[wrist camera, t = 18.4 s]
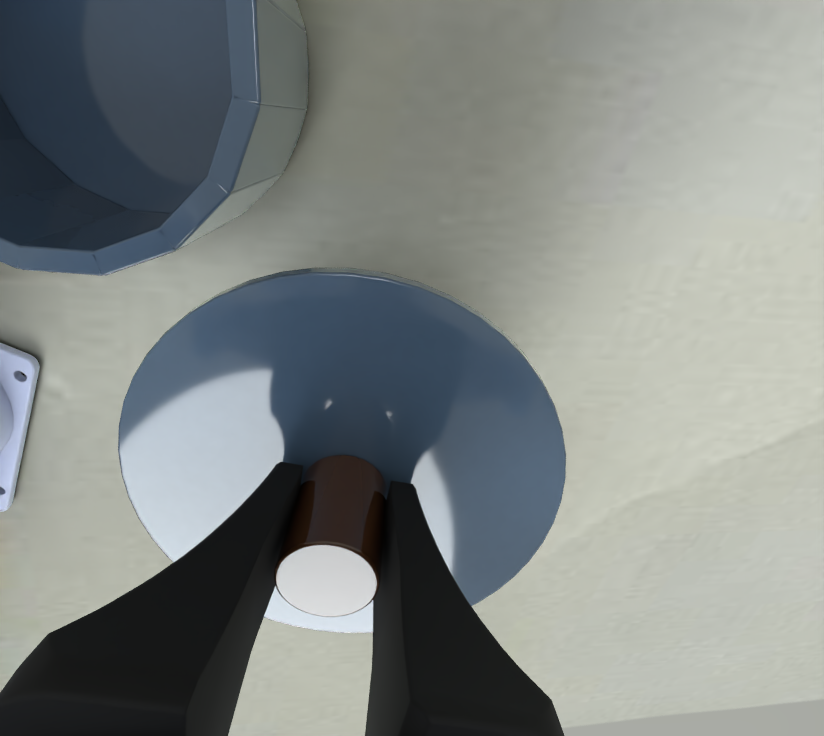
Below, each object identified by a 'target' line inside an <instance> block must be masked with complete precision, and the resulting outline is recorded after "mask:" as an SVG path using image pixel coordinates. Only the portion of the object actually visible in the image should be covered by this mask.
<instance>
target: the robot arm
mask: <svg viewBox="0 0 824 736" xmlns="http://www.w3.org/2000/svg"><path fill="white" fill-rule="evenodd" d="M39 369H40V367H39V363H38V361H37V359H36V358H35V357H33V356H32V355H30V354H28V353H25V352H23V351H20V350H18V349H15V348H13V347H10V346H7V345H5V344H2V343H0V512H1V511H5V510H7V509H8V508H9V507H10V506H11V505H12V503H13V498H14V493H15V488H16V483H17V478H18V473H19V468H20V463H21V458H22V453H23V448H24V443H25V438H26V433H27V428H28V423H29V418H30V413H31V408H32V403H33V398H34V393H35V388H36V384H37V379H38V374H39ZM20 371H21V372H23V373H24V374H25V375H26V377H25V376H23V375H22V374H21V372H20ZM302 472H303V465H298V464H292V463H286V462H279V463H278V464H276V465H275V467H274V468H273V469H272V471H271V472H270V473H269V475H268V476H267V477H266V478H265V480H264V481H263V482H262V483H261V484H260V485H259V486H258V488H257V489H256V490H255V491H254V492H253V493H252V494H251V495H250V496H249V497H248V498H247V499H246V500H245V502H244V503H243V504H242V505H241V506H240V507H239V508H238V509H237V510H236V511H235V512H234V513H233V514H232V515H231V516H229V517H228V518H227V519H226V520H225V521H224V522H223V523H222V524H221V525H220V526H219V527H217V528H216V529H215V530H214V531H213V532H212V533H211V534H210V535H208V536H207V537H206V538H205V539H204V540H203V541H201V542H200V543H199V544H198V545H196V546H195V547H194V548H193V549H191V550H190V551H189V552H187V553H186V554H185V555H183V556H182V557H181V558H179V559H178V560H177V561H175V562H174V563H172V564H171V565H169V566H168V567H167V568H165V569H164V570H162V571H161V572H160V573H158V574H157V575H155V576H154V577H152V578H150V579H149V580H147V581H146V582H144V583H143V584H141V585H139V586H138V587H136V588H134V589H133V590H131V591H129V592H127V593H126V594H124V595H122V596H121V597H119V598H117V599H116V600H114V601H112V602H111V603H109V604H107V605H105V606H103V607H102V608H100V609H98V610H96V611H94V612H92V613H90V614H88V615H86V616H84V617H82V618H80V619H78V620H76V621H74V622H72V623H70V624H68V625H66V626H64V627H62V628H60V629H58V630H55V631H53V632H51V633H49V634H48V635H47V636H46V637H45V638H44V639H43V640H42V641H41V643H40V644H39V645H38V646H37V647H36V648H35V649H34V650H33V651H32V653H31V654H30V655H29V656H28V657H27V658H26V659H25V661H24V662H23V663H22V664H21V665H20V666H19V668H18V669H17V670H16V672H15V673H14V674H13V676H12V677H11V679H10V680H9V681H8V683H7V684H6V685H5V687H4V688H3V690H2V691H1V692H0V736H228V733H229V729H230V726H231V722H232V719H233V715H234V711H235V708H236V704H237V700H238V697H239V693H240V690H241V686H242V682H243V679H244V675H245V672H246V668H247V665H248V661H249V657H250V654H251V651H252V648H253V645H254V642H255V639H256V636H257V633H258V631H259V628H260V625H261V623H262V620H263V617H264V615H265V612H266V609H267V607H268V604H269V602H270V599H271V596H272V594H273V591H274V588H275V586H276V585H275V581H274V569H275V565H276V562H277V559H278V555H279V552H280V549H281V546H282V542H283V539H284V536H285V533H286V530H287V526H288V523H289V520H290V517H291V514H292V512H293V508H294V505H295V502H296V499H297V495H298V492H299V489H300V486H301V479H302ZM365 736H564V733H563V730H562V728H561V725H560V722H559V719H558V716H557V714H556V711H555V708H554V705H553V703H552V700H551V699H550V698H549V697H548V696H547V695H546V694H545V693H544V692H543V691H542V690H541V689H540V688H539V687H538V686H537V685H536V684H535V683H534V682H533V681H532V680H531V679H530V678H529V677H528V676H527V675H526V674H525V673H524V672H523V671H522V670H521V669H520V668H519V666H518V665H517V664H516V663H515V662H514V661H513V660H512V659H511V657H510V656H509V655H508V654H507V653H506V652H505V651H504V649H503V648H502V647H501V646H500V644H499V643H498V642H497V641H496V639H495V638H494V637H493V635H492V634H491V633H490V632H489V630H488V629H487V628H486V626H485V625H484V624H483V622H482V621H481V620H480V618H479V617H478V616H477V614H476V613H475V611H474V610H473V608H472V607H471V605H470V604H469V602H468V601H467V599H466V597H465V596H464V594H463V593H462V591H461V589H460V588H459V586H458V584H457V583H456V581H455V579H454V577H453V576H452V574H451V572H450V570H449V568H448V566H447V564H446V563H445V561H444V559H443V557H442V555H441V553H440V550H439V548H438V546H437V544H436V542H435V539H434V537H433V535H432V533H431V530H430V528H429V526H428V523H427V521H426V518H425V515H424V512H423V510H422V507H421V504H420V501H419V498H418V494H417V491H416V488H415V486H414V485H413V484H410V483H404V482H398V481H392V480H391V483H390V487H389V491H388V495H387V499H386V508H385V522H384V539H383V553H382V567H381V581H380V588H379V590H378V593H377V595H376V596H375V598H374V599H373V656H372V673H371V683H370V693H369V703H368V713H367V722H366V732H365Z"/></svg>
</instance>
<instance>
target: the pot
mask: <svg viewBox="0 0 824 736" xmlns="http://www.w3.org/2000/svg"><path fill="white" fill-rule="evenodd" d="M305 31H306V29H305V26H304V23H303V20H302V17H301V13H300V10H299V6H298V3H297V0H0V262H3V263H5V264H7V265H10V266H12V267H14V268H18V269H22V270H33V271H47V272H60V273H73V274H86V275H99V276H102V275H109V274H112V273H115V272H117V271H120V270H123V269H126V268H129V267H132V266H135V265H138V264H140V263H143V262H146V261H149V260H152V259H155V258H158V257H160V256H163V255H166V254H169V253H172V252H175V251H177V250H178V249H180V248H182V247H184V246H186V245H188V244H189V243H191V242H193V241H195V240H197V239H199V238H200V237H202V236H204V235H206V234H208V233H209V232H211V231H213V230H215V229H217V228H219V227H220V226H222V225H224V224H226V223H228V222H230V221H231V220H233V219H235V218H237V217H239V216H240V215H242V214H243V213H245V212H246V211H247V210H248V209H249V208H250V207H251V206H252V205H253V204H254V203H255V202H256V201H257V200H258V199H259V198H260V197H261V196H262V195H264V194H265V193H266V192H267V191H268V189H269V188H270V187H271V186H272V185H273V184H274V182H275V181H276V180H277V179H278V178H279V177H280V176H281V175H282V174H283V172H284V171H285V169H286V166H287V164H288V162H289V160H290V157H291V155H292V153H293V151H294V149H295V146H296V144H297V142H298V139H299V135H300V132H301V129H302V125H303V122H304V118H305V115H306V113H307V110H306V109H307V107H308V106H307V99H308V83H309V65H308V51H307V34H306V32H305Z"/></svg>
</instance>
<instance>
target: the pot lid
mask: <svg viewBox="0 0 824 736" xmlns="http://www.w3.org/2000/svg"><path fill="white" fill-rule="evenodd" d="M118 452H119V459H120V466H121V473H122V477H123V480H124V483H125V487H126V490H127V493H128V496H129V499H130V501H131V503H132V505H133V507H134V509H135V511H136V513H137V516H138V518H139V519H140V521H141V522H142V524H143V526H144V527H145V529H146V530H147V532H148V533H149V535H150V536H151V538H152V539H153V540H154V542H155V543H156V544H157V545H158V546H159V547H160V549H161V550H162V551H163V552H164V553H165V555H166V556H167V557H168V558H169V559H170V560H171V561H172V562H173V563H174V562H175V561H177V560H178V559H179V558H181V557H182V556H183V555H185V554H186V553H187V552H189V551H190V550H191V549H193V548H194V547H195V546H196V545H198V544H199V543H200V542H201V541H203V540H204V539H205V538H206V537H207V536H208V535H210V534H211V533H212V532H213V531H214V530H215V529H216V528H217V527H219V526H220V525H221V524H222V523H223V522H224V521H225V520H226V519H227V518H228V517H229V516H231V515H232V514H233V513H234V512H235V511H236V510H237V509H238V508H239V507H240V506H241V505H242V504H243V503H244V502H245V500H246V499H247V498H248V497H249V496H250V495H251V494H252V493H253V492H254V491H255V490H256V489H257V488H258V486H259V485H260V484H261V483H262V482H263V481H264V480H265V478H266V477H267V476H268V475H269V473H270V472H271V471H272V469H273V468H274V467H275V465H276V464H278V463H279V462H286V463H292V464H298V465H303V472H302V479H301V486H300V489H299V492H298V495H297V499H296V502H295V505H294V508H293V512H292V514H291V517H290V520H289V523H288V526H287V530H286V533H285V536H284V539H283V542H282V546H281V549H280V552H279V555H278V559H277V562H276V565H275V569H274V581H275V585H276V586H275V588H274V591H273V594H272V596H271V599H270V602H269V604H268V607H267V609H266V612H265V615H264V618H267V619H270V620H273V621H277V622H280V623H284V624H288V625H291V626H296V627H301V628H307V629H312V630H318V631H328V632H338V633H372V632H373V599H374V598H375V596H376V595H377V593H378V590H379V588H380V581H381V567H382V553H383V539H384V522H385V508H386V499H387V495H388V491H389V487H390V483H391V480H392V481H398V482H404V483H410V484H413V485H414V486H415V488H416V491H417V494H418V498H419V501H420V504H421V507H422V510H423V512H424V515H425V518H426V521H427V523H428V526H429V528H430V530H431V533H432V535H433V537H434V539H435V542H436V544H437V546H438V548H439V550H440V553H441V555H442V557H443V559H444V561H445V563H446V564H447V566H448V568H449V570H450V572H451V574H452V576H453V577H454V579H455V581H456V583H457V584H458V586H459V588H460V589H461V591H462V593H463V594H464V596H465V597H466V599H467V601H468V602H469V604H470V605H471V606H472V605H474V604H476V603H478V602H480V601H481V600H483V599H485V598H486V597H488V596H489V595H491V594H492V593H494V592H496V591H497V590H498V589H500V588H501V587H502V586H503V585H504V584H506V583H507V582H508V581H509V580H511V579H512V578H513V577H514V576H515V575H516V574H517V573H518V572H519V571H520V570H521V569H522V568H523V567H524V566H525V565H526V564H527V563H528V562H529V561H530V559H531V558H532V557H533V555H534V554H535V553H536V551H537V550H538V549H539V547H540V546H541V544H542V543H543V541H544V540H545V538H546V536H547V534H548V532H549V530H550V528H551V526H552V525H553V523H554V520H555V517H556V514H557V511H558V509H559V506H560V503H561V499H562V494H563V488H564V483H565V474H566V451H565V445H564V438H563V431H562V427H561V424H560V421H559V418H558V415H557V412H556V408H555V405H554V403H553V401H552V399H551V397H550V395H549V393H548V391H547V389H546V387H545V385H544V383H543V381H542V379H541V377H540V375H539V374H538V372H537V371H536V370H535V368H534V367H533V365H532V364H531V363H530V361H529V360H528V358H527V357H526V356H525V354H524V353H523V351H522V350H521V349H520V348H519V347H518V346H517V345H516V344H515V343H514V342H513V341H512V340H511V339H510V338H509V337H508V336H507V335H506V334H505V333H504V332H503V331H502V330H501V329H500V328H499V327H497V326H496V325H495V324H493V323H492V322H491V321H490V320H488V319H487V318H486V317H484V316H483V315H482V314H481V313H479V312H478V311H476V310H475V309H473V308H471V307H470V306H468V305H466V304H464V303H463V302H461V301H459V300H458V299H456V298H454V297H452V296H451V295H449V294H446V293H444V292H442V291H439V290H437V289H434V288H432V287H430V286H427V285H425V284H422V283H420V282H417V281H413V280H410V279H406V278H402V277H399V276H395V275H392V274H388V273H383V272H376V271H369V270H362V269H355V268H309V269H301V270H292V271H284V272H279V273H276V274H272V275H268V276H264V277H260V278H256V279H252V280H249V281H247V282H244V283H242V284H240V285H237V286H235V287H232V288H230V289H228V290H225V291H223V292H221V293H219V294H217V295H215V296H214V297H212V298H210V299H209V300H207V301H205V302H204V303H202V304H200V305H199V306H197V307H195V308H194V309H193V310H192V311H190V312H189V313H188V314H187V315H186V316H184V317H183V318H182V319H181V320H180V321H178V322H177V323H176V324H175V325H174V326H172V327H171V328H170V329H169V330H168V331H167V332H165V334H164V335H163V336H162V337H161V338H160V339H159V341H158V342H157V343H156V344H155V345H154V346H153V347H152V349H151V350H150V351H149V352H148V353H147V355H146V356H145V358H144V360H143V361H142V363H141V365H140V366H139V368H138V370H137V371H136V373H135V375H134V376H133V379H132V381H131V384H130V386H129V389H128V391H127V394H126V397H125V399H124V403H123V408H122V413H121V418H120V423H119V444H118Z"/></svg>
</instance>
